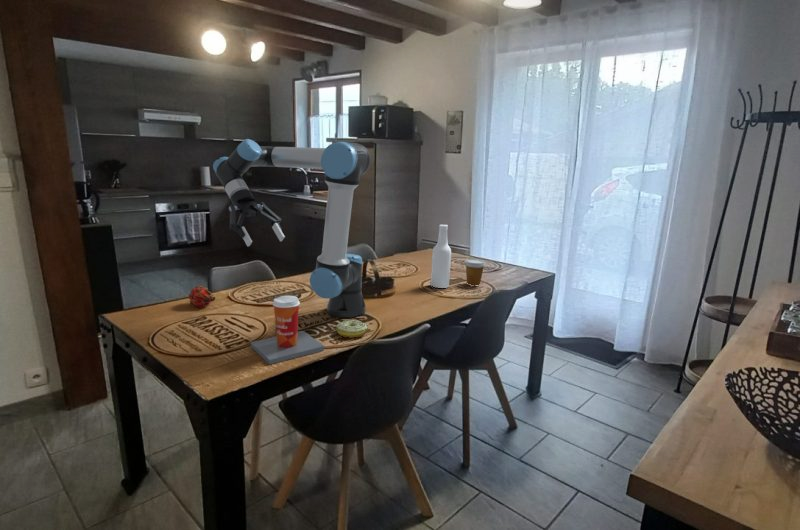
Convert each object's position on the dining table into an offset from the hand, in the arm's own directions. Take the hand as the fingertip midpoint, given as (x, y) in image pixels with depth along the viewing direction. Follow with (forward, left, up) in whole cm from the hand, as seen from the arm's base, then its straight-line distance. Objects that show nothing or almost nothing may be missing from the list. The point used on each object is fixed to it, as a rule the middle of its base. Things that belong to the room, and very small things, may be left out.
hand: (266, 241), depth 159 cm
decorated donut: (-19, +26, -30) cm, 44 cm away
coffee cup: (+5, +26, -28) cm, 38 cm away
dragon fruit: (+16, -29, -30) cm, 45 cm away
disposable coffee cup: (-102, +6, -30) cm, 107 cm away
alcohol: (-85, 0, -30) cm, 91 cm away
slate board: (+5, +26, -30) cm, 40 cm away
